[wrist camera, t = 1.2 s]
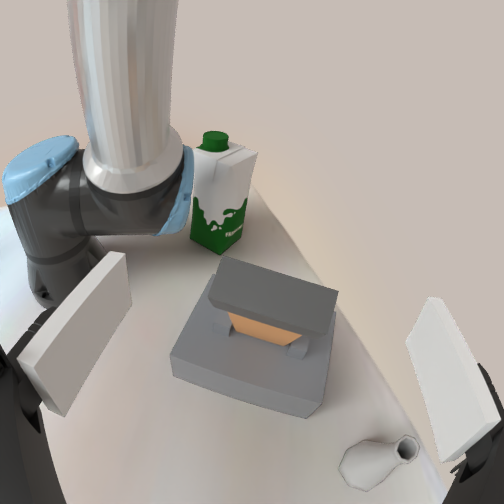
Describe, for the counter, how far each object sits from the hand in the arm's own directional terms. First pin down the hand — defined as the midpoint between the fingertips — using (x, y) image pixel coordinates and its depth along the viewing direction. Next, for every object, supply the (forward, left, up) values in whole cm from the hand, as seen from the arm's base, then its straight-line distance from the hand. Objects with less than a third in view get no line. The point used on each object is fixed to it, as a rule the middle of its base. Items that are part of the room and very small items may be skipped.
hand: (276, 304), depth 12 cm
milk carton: (-32, +18, -28) cm, 47 cm away
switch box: (-8, +10, -28) cm, 31 cm away
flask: (+14, +12, -28) cm, 33 cm away
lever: (-8, +10, -22) cm, 25 cm away
